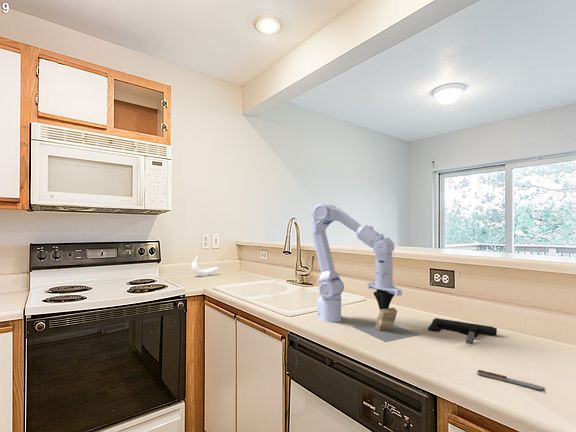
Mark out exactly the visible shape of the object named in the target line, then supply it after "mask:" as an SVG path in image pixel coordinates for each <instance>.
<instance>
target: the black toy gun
mask: <svg viewBox="0 0 576 432" xmlns="http://www.w3.org/2000/svg"><path fill="white" fill-rule="evenodd" d="M441 330H443V331H444V330H445V331H450V332H456V333H460V334H461V335H465V336H466V344H468V345H469V344H470V345H473V343H474V341H475V338H478V336H479V335H485V336H491V337H495V336H497V335H498V329H497V327H494V326H490V325H485V324H478V323H473V322H471V323H470V322H466V321H465V322H464V321H459V320H451V319H445V318H439V317H434V318H433V319H432V322H431V323H430V325H429V326H428V328H427V331H429V332H435V333H440V331H441Z"/></svg>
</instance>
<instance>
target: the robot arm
mask: <svg viewBox="0 0 576 432" xmlns="http://www.w3.org/2000/svg"><path fill="white" fill-rule="evenodd" d="M333 222H339V223H341V224H342V225H344V226H345V227H346V228H348V229H350V230H352V231H353V232H354V233H355V234H356V237H357V239H358V240H359V241H361V242H363V243H364V244H365V245H367V247H369V248H371V249H372V250H373V252H374V254H375V261H374V262H375V263H374V265H375V267H374V268H375V271H374V272H375V273H374V276H375V282H367V289H372V290H376V291H373V295H374V297H375V299H376V302H377V306H378V308H379V310H380V309H387V308H390V305H391V302H392V300H393V298H394V296H396V297H401V296H403V294H402V293H403V291H402V290H403V289H400V288H398V287H396V286H395V285H393V283H394V282H393V275H394V274H393V264H394V263H393V251H394V250H395V243H394V241H393V240H391V238H389V237H385V234H383V233H381V234H380V233H379V232H378V231H377V230H375V229H374V226H372V225H368V224H364V225H362V224H360V223H359V222H358V221H356V220H355V219H354V218H353V217H351V216H350V215H349V214H347V213H346V212H345V211H343V210H342V209H341V208H339V207H336V206H335V204H325V203H320V204H317V205H316V206H315V207H314V208H313V210H312V211H311V222H310V232H311V238H312V241H313V245H314V249H315V254H316V258H317V262H318V266H319V269H320V275H319V278H318V282H319V287H318V291H319V294H320V296H319V298H318V299H317V303H316V305H317V306H316V317H315V318H314V319H316V320H320V319H321V320H322V321H323V322H326V323H339V322H341V321H342V293H343V292H344V290H345V285H344V282H343V281H342V279H341V278H340V274H339V273H338V272H337V271H336V269H335V264H334V261H333V257H332V253H331V248H330V244H329V240H328V237H327V236H328V235H327V232H326V230H327V228H329V226H330V225H331V223H333Z"/></svg>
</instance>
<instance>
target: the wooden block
mask: <svg viewBox="0 0 576 432" xmlns="http://www.w3.org/2000/svg"><path fill="white" fill-rule="evenodd" d="M397 313H398V310H397V309H396V308H395V307H389V308H387V309H379V312H378V315H377V319H376V326H375V328H377V329H378V330H379V331H381V330H386V329H392V328H393V325H395V321H396V317H397Z"/></svg>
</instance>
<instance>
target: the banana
mask: <svg viewBox="0 0 576 432" xmlns="http://www.w3.org/2000/svg"><path fill="white" fill-rule="evenodd" d="M198 259H199V257H198V255H195V259H194V260H193V261H192V263H191V265H190V268H191V270H192V271H193V273H194V274H195V275H196V276H198V277H207V276H211V275H212V274H215V273H216V272H217V271H219V270H218V269H219V267H218V266H214V267H210V268H206V269H201V268H200V266H198V263H197V262H198V261H197V260H198Z"/></svg>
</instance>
